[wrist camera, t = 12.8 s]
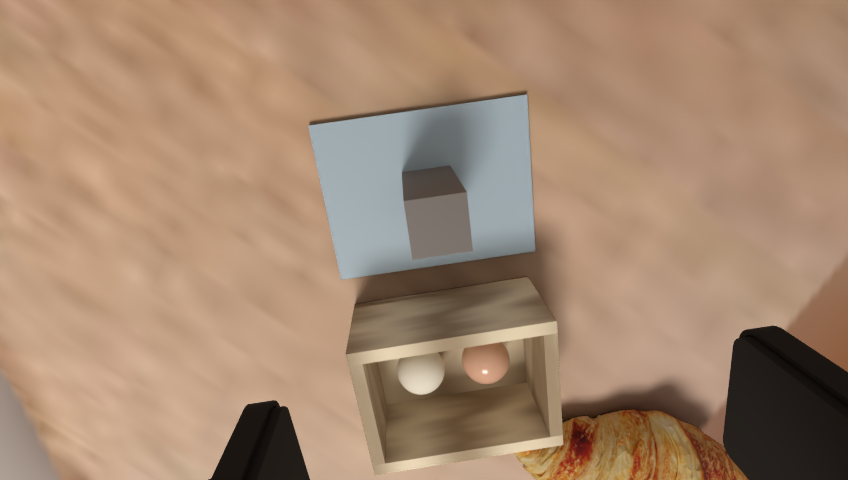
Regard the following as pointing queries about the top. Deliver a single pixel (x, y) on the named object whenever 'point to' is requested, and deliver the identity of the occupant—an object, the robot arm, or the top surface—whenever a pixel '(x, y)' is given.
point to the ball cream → (421, 372)
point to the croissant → (631, 450)
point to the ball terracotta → (486, 362)
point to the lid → (427, 186)
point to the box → (456, 375)
